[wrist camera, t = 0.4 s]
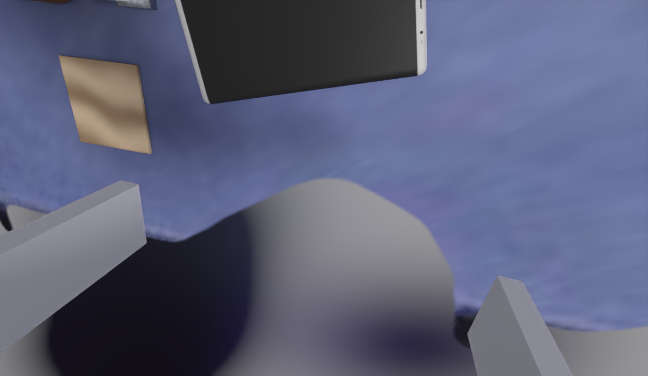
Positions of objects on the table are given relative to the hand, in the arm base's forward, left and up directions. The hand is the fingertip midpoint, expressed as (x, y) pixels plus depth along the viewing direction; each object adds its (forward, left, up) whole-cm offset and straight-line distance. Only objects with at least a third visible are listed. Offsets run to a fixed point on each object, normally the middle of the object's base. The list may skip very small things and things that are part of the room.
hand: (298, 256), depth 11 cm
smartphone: (-8, -9, -28) cm, 31 cm away
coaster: (+4, -36, -27) cm, 45 cm away
